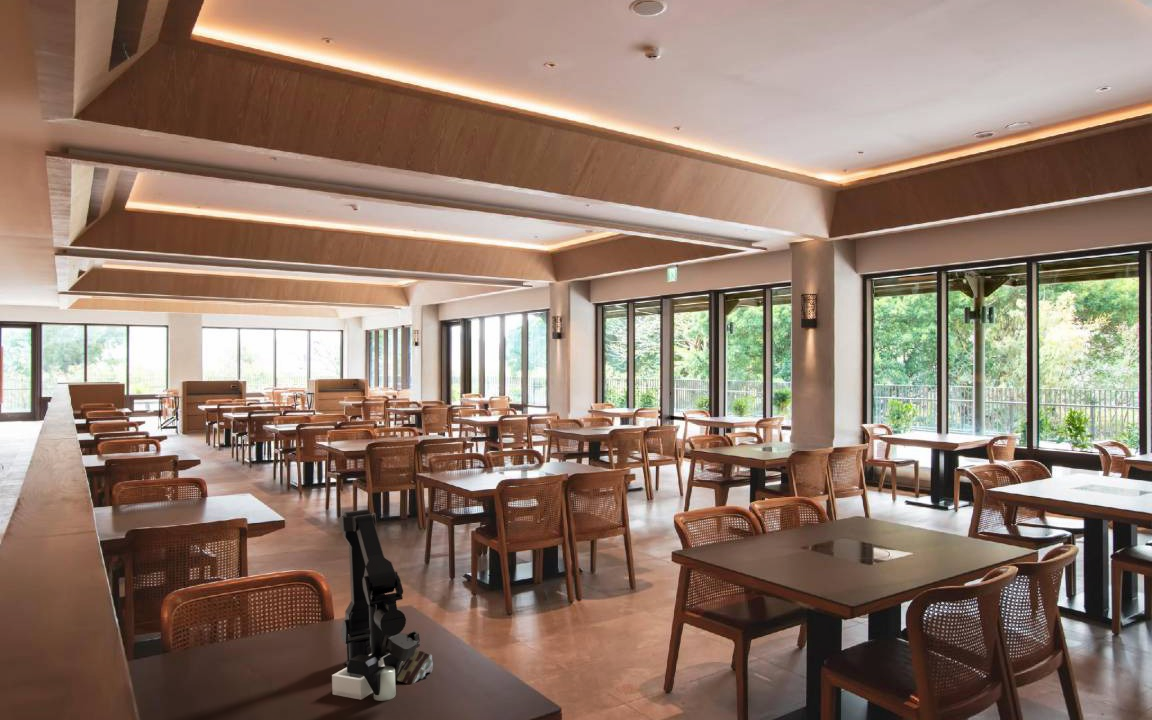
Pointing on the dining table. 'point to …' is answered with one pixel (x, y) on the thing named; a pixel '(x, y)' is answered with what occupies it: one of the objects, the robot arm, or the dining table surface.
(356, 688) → the tote
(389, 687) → the white pillar candle
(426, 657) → the chocolate cake
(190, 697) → the dining table surface
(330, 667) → the dining table surface
